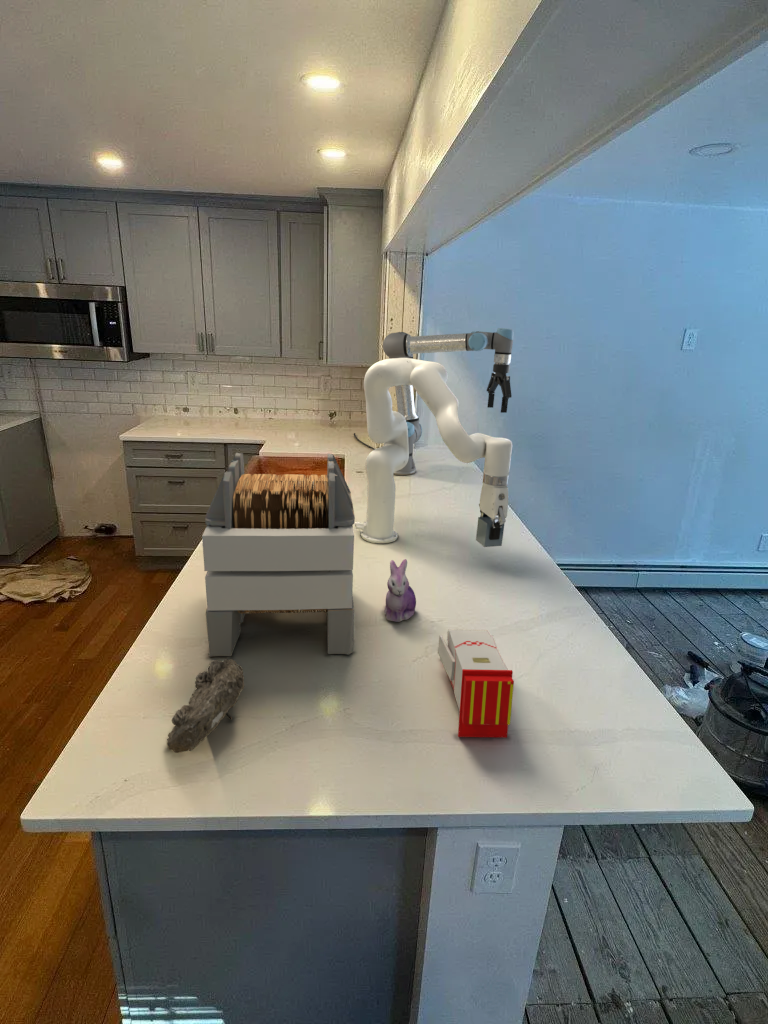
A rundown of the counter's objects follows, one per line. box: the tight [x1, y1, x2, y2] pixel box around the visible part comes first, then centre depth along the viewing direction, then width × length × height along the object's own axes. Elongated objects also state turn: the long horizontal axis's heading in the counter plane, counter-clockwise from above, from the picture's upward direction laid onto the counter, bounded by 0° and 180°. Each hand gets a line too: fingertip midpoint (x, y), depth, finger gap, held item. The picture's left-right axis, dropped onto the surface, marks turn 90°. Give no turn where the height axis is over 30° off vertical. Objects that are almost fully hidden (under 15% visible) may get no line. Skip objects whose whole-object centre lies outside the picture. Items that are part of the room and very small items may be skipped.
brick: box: [475, 516, 505, 548], centre depth 175 cm, size 6×6×8 cm
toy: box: [437, 628, 515, 738], centre depth 117 cm, size 12×13×30 cm
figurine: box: [384, 558, 417, 623], centre depth 145 cm, size 9×10×15 cm
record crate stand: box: [201, 452, 356, 658], centre depth 136 cm, size 34×33×41 cm
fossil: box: [166, 658, 245, 754], centre depth 106 cm, size 22×10×15 cm
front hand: (489, 534), depth 175 cm, fingers closed on brick, 5 cm apart
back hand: (496, 410), depth 267 cm, fingers open, 13 cm apart
